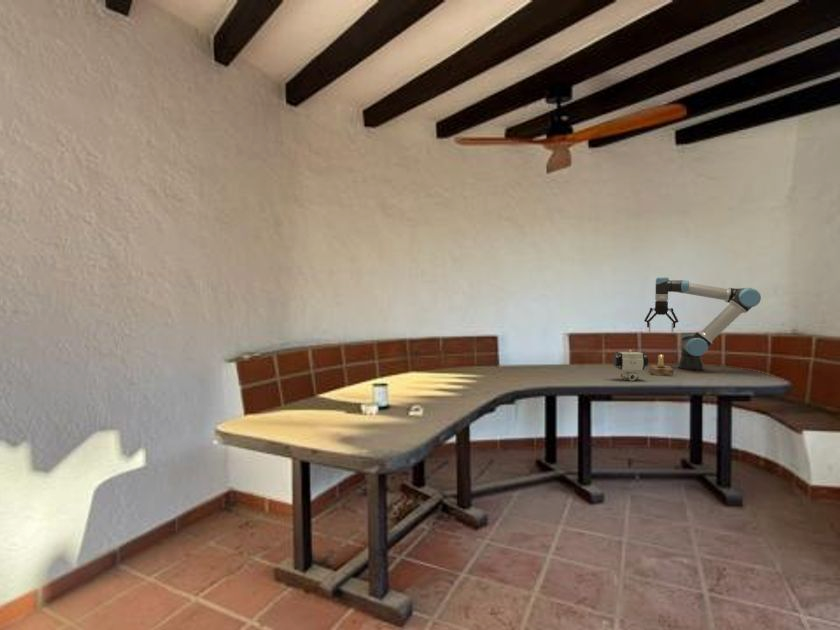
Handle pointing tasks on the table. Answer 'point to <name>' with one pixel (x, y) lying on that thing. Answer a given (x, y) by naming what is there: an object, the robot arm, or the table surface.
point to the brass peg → (660, 361)
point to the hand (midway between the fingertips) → (660, 332)
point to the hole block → (661, 370)
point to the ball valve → (630, 363)
